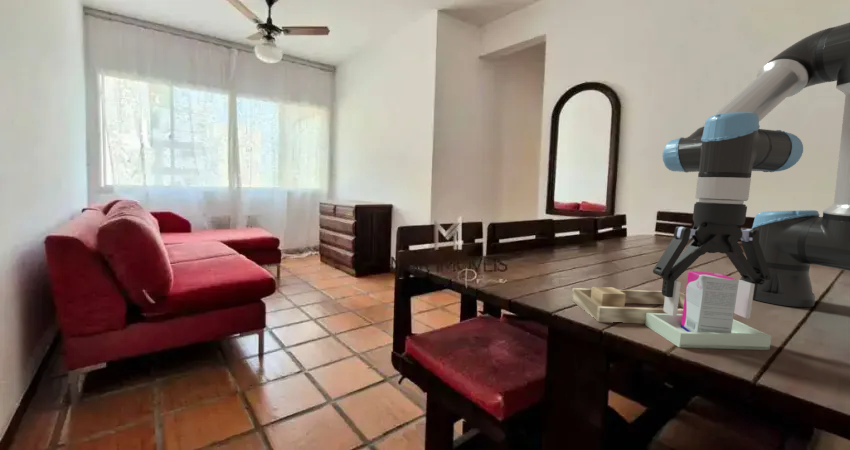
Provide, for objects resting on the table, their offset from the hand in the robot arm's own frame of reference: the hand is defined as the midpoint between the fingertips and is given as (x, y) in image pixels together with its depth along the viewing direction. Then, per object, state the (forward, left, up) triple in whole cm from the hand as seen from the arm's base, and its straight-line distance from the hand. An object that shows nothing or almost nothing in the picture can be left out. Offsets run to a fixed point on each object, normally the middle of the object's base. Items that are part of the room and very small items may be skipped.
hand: (705, 314), depth 69 cm
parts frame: (+4, -13, -4) cm, 14 cm away
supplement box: (0, 0, -4) cm, 4 cm away
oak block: (+12, -12, -4) cm, 18 cm away
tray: (0, 0, -4) cm, 4 cm away
